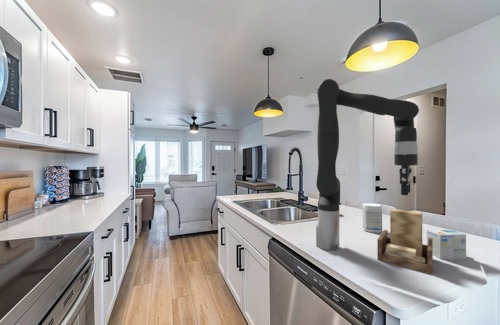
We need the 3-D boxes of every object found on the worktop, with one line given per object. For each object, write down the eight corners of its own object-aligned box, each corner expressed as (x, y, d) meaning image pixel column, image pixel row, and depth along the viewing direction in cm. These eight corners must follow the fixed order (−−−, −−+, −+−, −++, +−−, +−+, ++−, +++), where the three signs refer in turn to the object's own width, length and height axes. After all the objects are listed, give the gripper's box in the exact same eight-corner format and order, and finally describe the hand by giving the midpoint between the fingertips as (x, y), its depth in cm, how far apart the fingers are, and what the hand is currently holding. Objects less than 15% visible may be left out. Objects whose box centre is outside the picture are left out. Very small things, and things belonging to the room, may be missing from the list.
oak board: (390, 254, 86) (390, 210, 86) (392, 250, 90) (392, 208, 90) (421, 262, 80) (421, 214, 80) (422, 258, 83) (422, 212, 83)
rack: (377, 262, 82) (377, 239, 82) (384, 250, 93) (384, 229, 93) (432, 277, 71) (432, 250, 71) (432, 261, 82) (432, 238, 82)
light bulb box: (450, 254, 89) (450, 228, 89) (467, 261, 82) (467, 234, 82) (425, 254, 88) (425, 228, 88) (440, 262, 82) (440, 234, 82)
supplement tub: (386, 232, 116) (386, 205, 116) (372, 234, 113) (371, 206, 113) (372, 227, 125) (372, 202, 125) (358, 228, 123) (358, 203, 123)
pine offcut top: (385, 252, 81) (385, 246, 81) (387, 249, 84) (387, 243, 84) (415, 259, 75) (415, 252, 75) (416, 256, 78) (416, 249, 78)
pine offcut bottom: (384, 259, 81) (384, 252, 81) (385, 256, 84) (385, 249, 84) (424, 270, 74) (424, 261, 74) (424, 266, 76) (424, 258, 76)
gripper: (396, 154, 92) (396, 191, 92) (391, 153, 82) (391, 195, 82) (418, 153, 87) (418, 192, 87) (416, 152, 77) (416, 197, 77)
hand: (405, 193), depth 85 cm, fingers open, 8 cm apart
